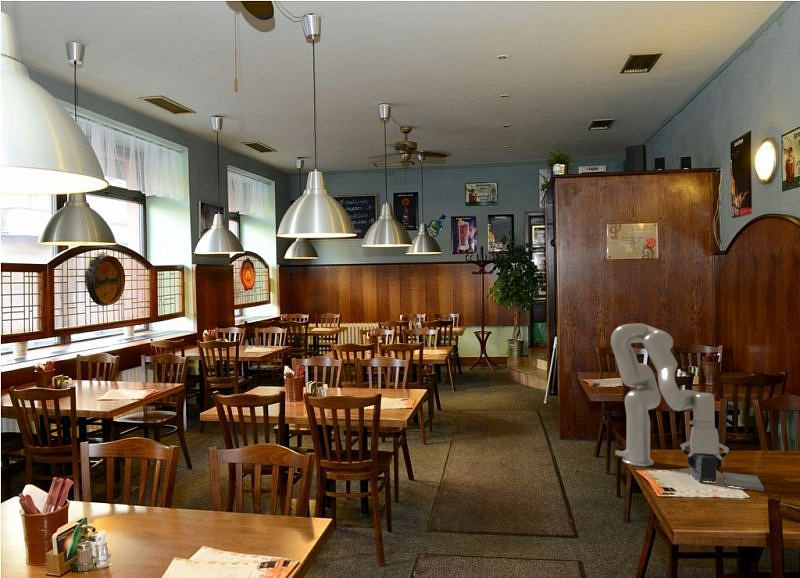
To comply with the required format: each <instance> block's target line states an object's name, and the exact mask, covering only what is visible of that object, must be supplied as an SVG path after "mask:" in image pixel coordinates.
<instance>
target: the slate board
mask: <svg viewBox="0 0 800 578" xmlns="http://www.w3.org/2000/svg"><path fill="white" fill-rule="evenodd" d="M723 475H724V477H723V479H724V478H725V480H726V482H727V484H726V486H727V485H728V486H734V487H741V488H745V489H749V490H748V491H752V490H760V491H759V492H761V491H764V492H765V487H764V485H763V484H762V482H761V480H760V478H759V477H758V476H757V475H753V474H744V473H743V474H742V473H734V472H733V473H732V472H726V471H723V472H722V476H723ZM725 480H724V481H725ZM726 482H725V483H726Z"/></svg>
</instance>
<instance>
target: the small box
mask: <svg viewBox="0 0 800 578" xmlns="http://www.w3.org/2000/svg"><path fill="white" fill-rule="evenodd" d="M692 465H693V467H690V465H689V464H688V466H689V469H688V475H689V474H690V475H692V476H693V477H695V478H696V479H698V480H699V481H700V482H703V481H710V482H711V481H712V482H715V481H716V482H717V456H716V455H708V454H696V453H694V454H693V455H692ZM690 475H689V476H690ZM693 477H692V478H693ZM696 479H695V480H696ZM699 481H698V482H699ZM700 482H699V483H700Z"/></svg>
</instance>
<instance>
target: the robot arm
mask: <svg viewBox="0 0 800 578" xmlns="http://www.w3.org/2000/svg"><path fill="white" fill-rule="evenodd" d="M637 343H641V344H643V347H644V349H645V350H646V352H647V354H648V356H649V358H650V360H651V363H652V364H653V367H654V368H655V369H656V371H657V380H658V382H657V380H656V377H655V373H654V371H653V370H652V368H651V367H650V366H649V365H648V364H646V363H642V362H641V363H640V362H639V360H638V359H637V355H636V353H635V351H634V348H632V346H631V345H632V344H637ZM610 346H611V349H612V352H613V354H614V356H615V361H616V365H617V368H618V372H619V375H620V378H621V379H620V380H621V381H622V383H623V384H624V386H627V387H636V389H632V390H630V391H628V392H627V394H626V395H625V397H624V406H625V413H626V414H625V415H626V441H625V443H626V444H625V447H626V449H624V450H622V451H621V450H617V449H616V450H615V453H614V455H615V456H617V457H622V462H623V463H624V464H627V465H630V466H637V467H651V466H653V465H654V460H653V459H652V458H651V454H650V453H651V419H650V415H649V411H648V410H653V409H655V408H657V407H658V406H659V405H660V404H661V395H662V396H663V399H664V401H665V402H666V404H667V405H668V406H669V407H670V408H671V409H672V410H674V411H677V412H680V411H685V410H688V409H689V410H690V409H693V410H692V411H693V412H692V413H693V414H692V416H693V418H692V420H689V424H690V425H692V427H691V430H690V436H689V437H690V439H689V440H688V441H686V442H683V443H681V444H680V448H681V450H682V452H683V453H684V454H685V455H686V456H687V464H688V466H689V465H690V467H693V465H692V455H693V454H694V453H696V454H708V455H714V456H715V457H717V465H716V470H718V471H720V469H721V468H722V460H723V458H724V457H726V456H727V454H728V453H729V451H730V449H729V447H728V446H725V445H724V444H722V443H720V441H719V440H720V439H719V438H720V437H719V433H718V429H717V428H716V427H715V426H716V425H715V424H716V422H715V397H714V395H713V394H712V393H709V392H699V391H694V390H690V389H683V390H680V388H679V387H678V385H677V383H676V380H675V379H676V378H675V373H676V370H677V368H678V361H677V360H676V358H675V356H674V355H673V353H672V351H671V349H672V348H673V346H674V339H673V337H672V336H671V334H670V333H668V332H667V331H664V330H661V329H658V328H657V327H653V326H650V325H648V324H645V323H641V322H639V323H637V322H636V323H625V324H622V325H619V326H617V327H616V328H615V329H614V330H613V332H612V333H611V337H610ZM657 383H658V384H657ZM688 446H689V447H690V448H689V451H688V450H687V449H686V448H687V447H688ZM720 448H721V449H722V450H723V451H722V452H721V453H720Z"/></svg>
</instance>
